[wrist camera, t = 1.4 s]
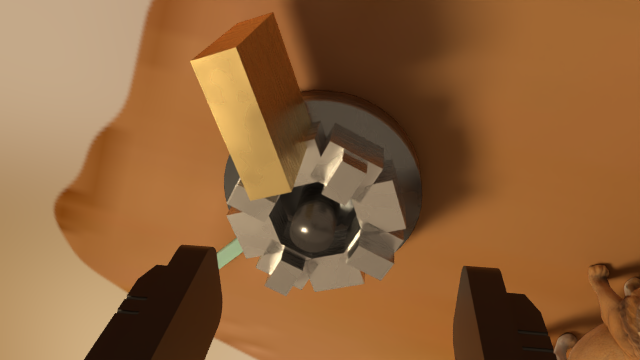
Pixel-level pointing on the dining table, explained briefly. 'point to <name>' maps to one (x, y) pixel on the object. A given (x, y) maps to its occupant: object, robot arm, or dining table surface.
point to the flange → (307, 200)
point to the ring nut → (295, 165)
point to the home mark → (228, 253)
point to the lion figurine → (608, 324)
